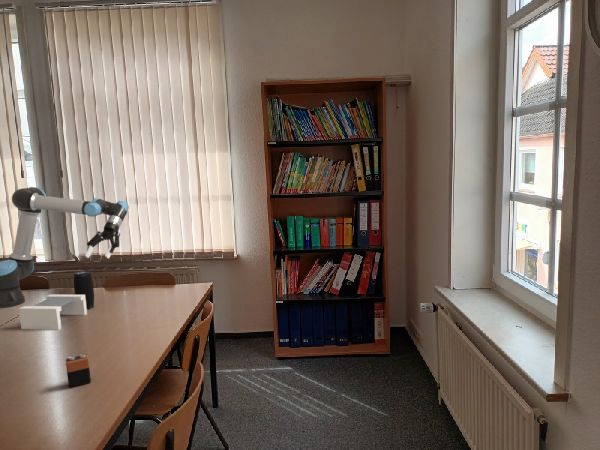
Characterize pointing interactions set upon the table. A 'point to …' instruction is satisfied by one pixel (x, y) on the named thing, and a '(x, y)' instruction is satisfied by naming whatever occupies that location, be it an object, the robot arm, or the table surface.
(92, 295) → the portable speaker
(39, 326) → the square spool
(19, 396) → the table surface
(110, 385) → the table surface
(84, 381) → the battery
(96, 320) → the table surface
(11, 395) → the table surface
